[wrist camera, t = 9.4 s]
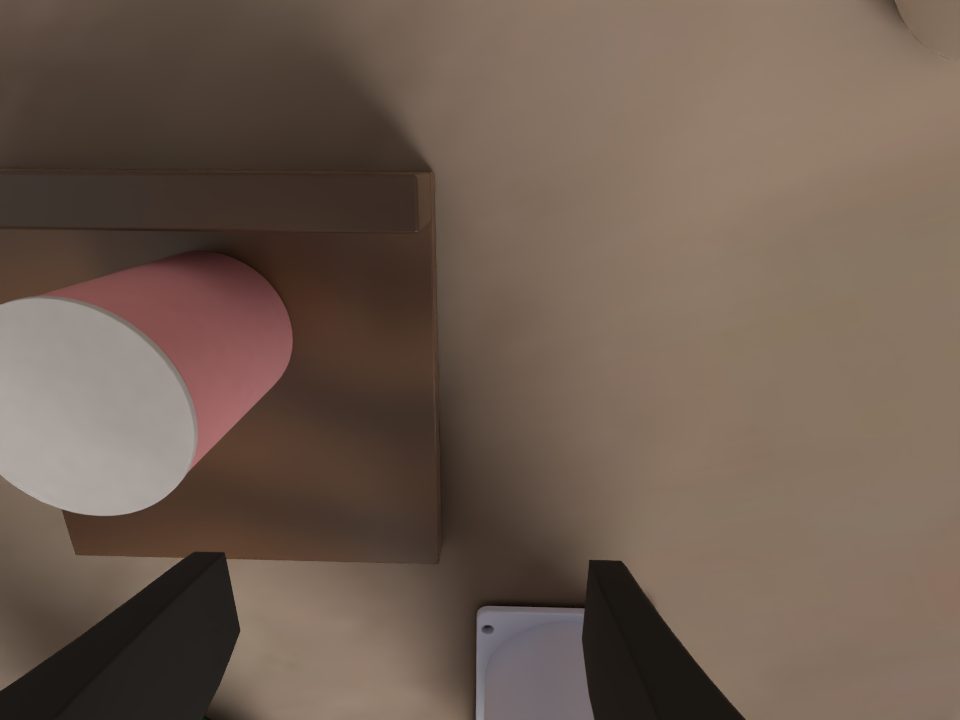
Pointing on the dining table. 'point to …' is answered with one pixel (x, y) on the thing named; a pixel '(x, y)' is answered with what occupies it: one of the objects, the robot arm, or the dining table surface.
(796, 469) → the dining table surface
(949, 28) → the plastic bottle
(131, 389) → the yogurt pot
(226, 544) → the serving board
